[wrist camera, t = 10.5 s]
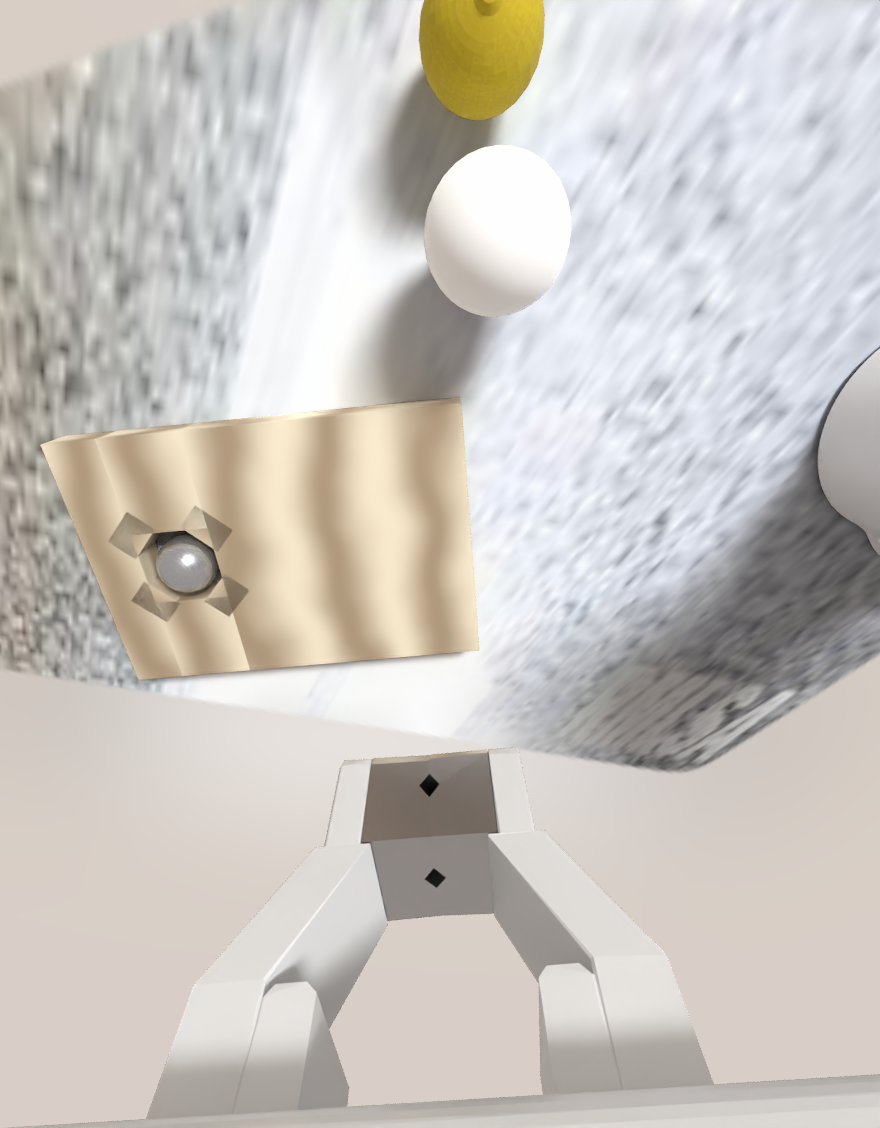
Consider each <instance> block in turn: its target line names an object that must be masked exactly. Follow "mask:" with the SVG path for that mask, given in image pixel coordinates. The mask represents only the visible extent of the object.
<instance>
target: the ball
mask: <svg viewBox="0 0 880 1128" xmlns="http://www.w3.org/2000/svg"><path fill="white" fill-rule="evenodd" d="M156 569H157V573H158V575H159V577H160V578H161V580H162V581H163V582H164V583H165V584H166V585H167V586H169V587H170V588H172V589H174V590H177V591H180V592H195V591H199V590H202V589H204V588H205V587H207V586H208V585H210V584H211V583H212V582H213V581H214V579H215V578H216V576H217V574H218V571H219V565H218V562H217V559H216V556H215V552H214V549H213V548H211V547H210V546H208V545H207V544H205V543H204V542H202V541H201V540H199V539H197V538H196V537H194V536H193V535H180V536H177V537H174V538H172V539H170V540H169V541H167V542H166V543H165V544H164V545H163V546H162V547H161V549H160V550H159V552H158V555H157V558H156Z"/></svg>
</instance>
